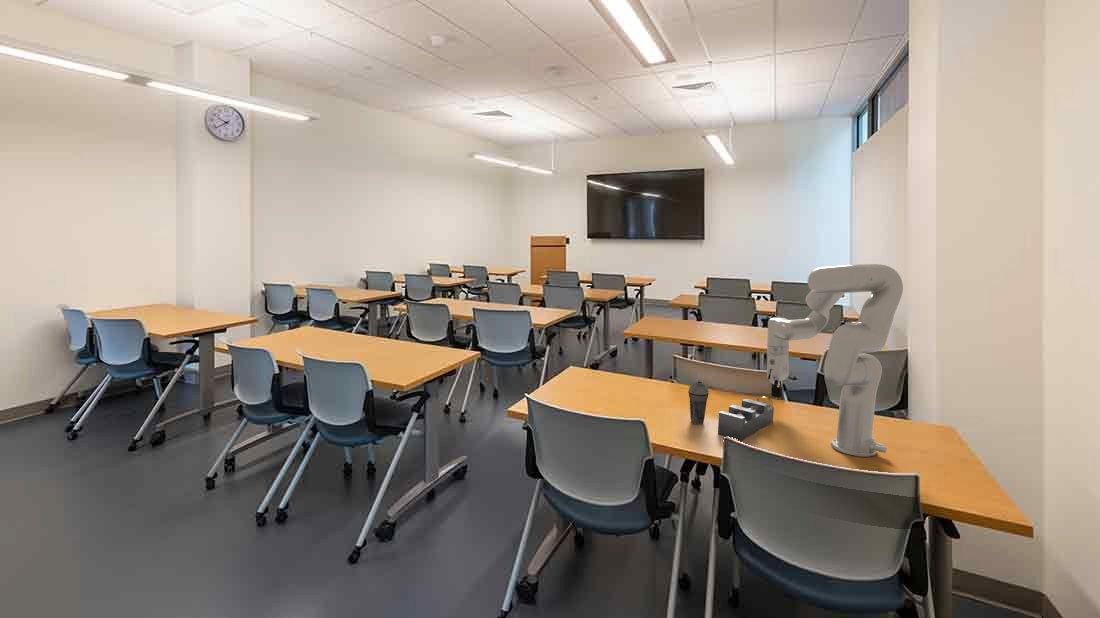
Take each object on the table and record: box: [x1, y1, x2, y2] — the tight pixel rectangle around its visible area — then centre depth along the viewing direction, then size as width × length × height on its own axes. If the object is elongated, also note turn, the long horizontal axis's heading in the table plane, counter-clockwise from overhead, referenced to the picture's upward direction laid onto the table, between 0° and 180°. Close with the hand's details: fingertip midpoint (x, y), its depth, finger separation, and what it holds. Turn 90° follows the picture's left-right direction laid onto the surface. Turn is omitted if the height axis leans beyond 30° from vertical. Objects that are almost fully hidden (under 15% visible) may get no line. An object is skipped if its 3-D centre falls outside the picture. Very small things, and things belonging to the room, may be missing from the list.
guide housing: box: [717, 398, 775, 442], centre depth 177 cm, size 8×26×8 cm, turn 134°
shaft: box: [736, 395, 774, 417], centre depth 179 cm, size 6×25×6 cm, turn 134°
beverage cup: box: [688, 370, 710, 426], centre depth 181 cm, size 7×7×20 cm
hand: (776, 396), depth 190 cm, fingers closed
